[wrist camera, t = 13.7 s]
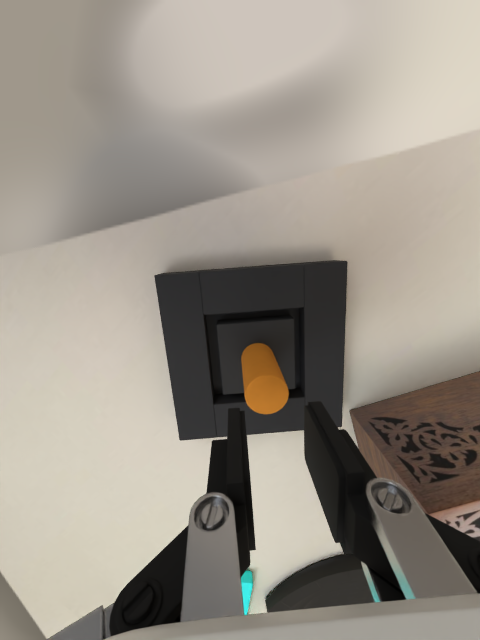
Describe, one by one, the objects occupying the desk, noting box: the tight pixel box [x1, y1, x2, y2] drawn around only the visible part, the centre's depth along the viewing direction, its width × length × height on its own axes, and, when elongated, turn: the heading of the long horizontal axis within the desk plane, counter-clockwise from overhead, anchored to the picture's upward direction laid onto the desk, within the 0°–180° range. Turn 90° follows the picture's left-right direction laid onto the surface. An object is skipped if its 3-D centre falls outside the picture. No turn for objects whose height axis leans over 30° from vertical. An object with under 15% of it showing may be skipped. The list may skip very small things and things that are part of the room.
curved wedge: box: [265, 554, 375, 613], centre depth 29 cm, size 8×14×2 cm, turn 100°
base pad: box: [155, 260, 347, 440], centre depth 21 cm, size 14×14×2 cm
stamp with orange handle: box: [216, 315, 295, 414], centre depth 18 cm, size 6×6×7 cm
